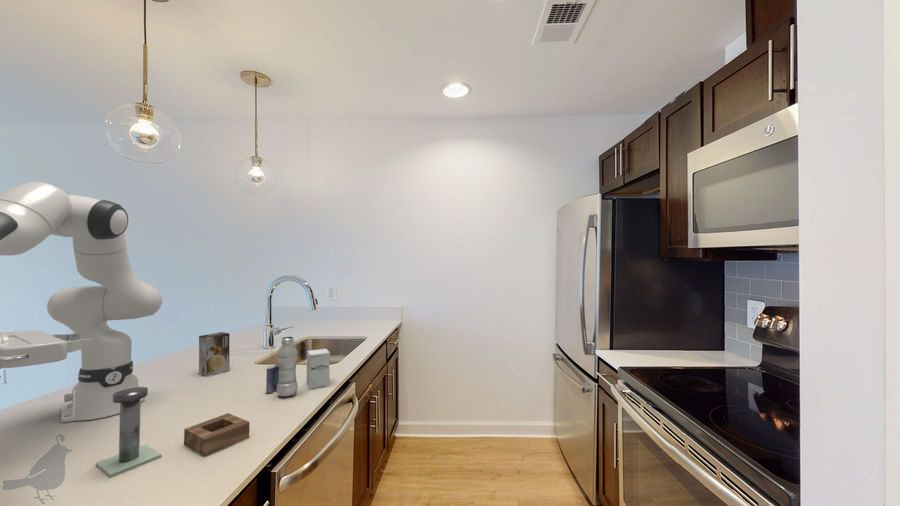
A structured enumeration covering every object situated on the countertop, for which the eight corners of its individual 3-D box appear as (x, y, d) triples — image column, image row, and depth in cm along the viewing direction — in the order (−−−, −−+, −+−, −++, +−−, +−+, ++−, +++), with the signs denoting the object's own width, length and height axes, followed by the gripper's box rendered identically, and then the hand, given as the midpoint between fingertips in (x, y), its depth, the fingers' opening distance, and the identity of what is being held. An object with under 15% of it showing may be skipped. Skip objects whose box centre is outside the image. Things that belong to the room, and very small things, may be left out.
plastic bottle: (289, 399, 115) (290, 340, 116) (272, 398, 116) (272, 339, 117) (301, 392, 121) (302, 336, 122) (284, 391, 123) (285, 335, 123)
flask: (268, 394, 120) (269, 363, 120) (263, 393, 121) (264, 362, 122) (292, 386, 128) (292, 357, 128) (287, 384, 129) (287, 356, 130)
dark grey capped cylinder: (106, 461, 79) (108, 393, 79) (140, 448, 84) (141, 385, 84) (116, 468, 76) (118, 398, 76) (150, 455, 81) (152, 389, 81)
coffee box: (222, 368, 149) (222, 331, 150) (229, 371, 146) (230, 333, 146) (197, 374, 141) (198, 335, 142) (205, 377, 138) (206, 337, 138)
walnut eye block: (183, 444, 87) (184, 428, 87) (227, 427, 96) (228, 413, 96) (204, 456, 82) (205, 439, 82) (249, 437, 91) (249, 421, 91)
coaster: (95, 465, 78) (95, 462, 78) (145, 446, 86) (145, 444, 86) (110, 477, 74) (110, 474, 74) (161, 456, 81) (161, 454, 81)
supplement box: (308, 389, 124) (309, 354, 125) (306, 383, 131) (306, 350, 131) (329, 386, 128) (330, 352, 128) (326, 380, 134) (326, 347, 135)
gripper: (-14, 343, 55) (104, 329, 67) (-33, 331, 66) (72, 320, 78) (-15, 383, 55) (103, 361, 67) (-34, 364, 66) (71, 348, 78)
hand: (86, 339), depth 73 cm, fingers open, 8 cm apart
